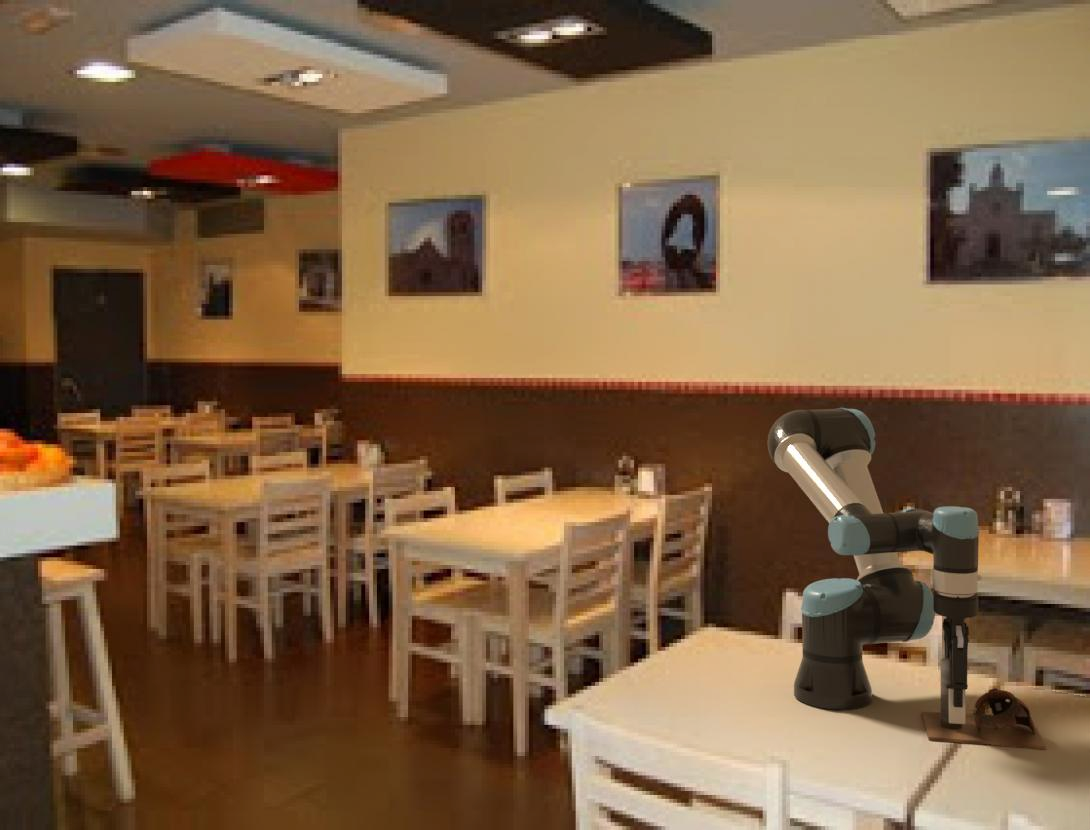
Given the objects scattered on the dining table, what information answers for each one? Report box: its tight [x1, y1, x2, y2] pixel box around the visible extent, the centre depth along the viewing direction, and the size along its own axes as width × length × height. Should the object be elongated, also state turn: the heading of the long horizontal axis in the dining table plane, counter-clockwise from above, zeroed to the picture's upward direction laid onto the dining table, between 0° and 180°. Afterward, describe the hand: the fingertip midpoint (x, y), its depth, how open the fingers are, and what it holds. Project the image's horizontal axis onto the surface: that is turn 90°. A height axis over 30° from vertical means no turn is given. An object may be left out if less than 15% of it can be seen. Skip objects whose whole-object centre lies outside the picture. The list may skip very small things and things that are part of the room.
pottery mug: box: [974, 687, 1036, 734], centre depth 175 cm, size 12×10×8 cm
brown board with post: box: [920, 657, 1047, 750], centre depth 176 cm, size 19×13×13 cm
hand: (955, 718), depth 177 cm, fingers closed on brown board with post, 4 cm apart
